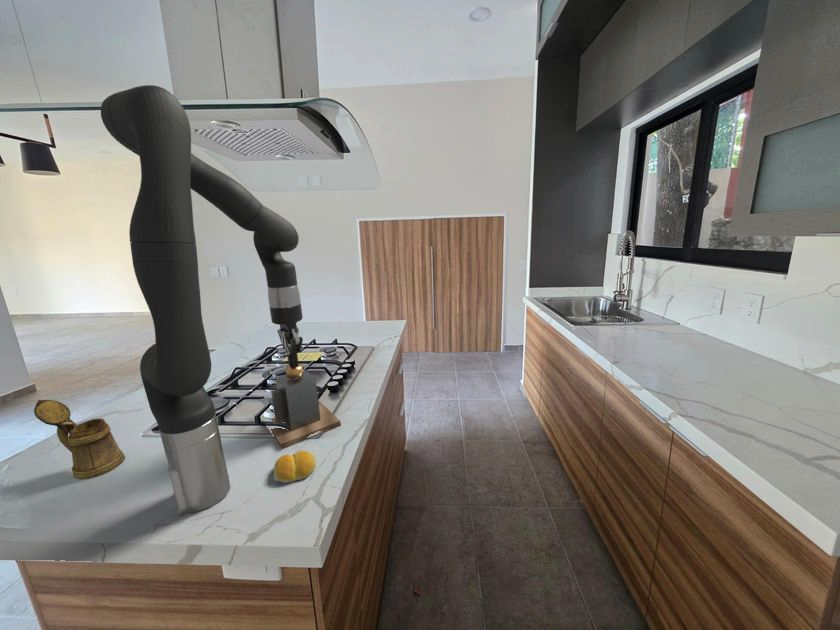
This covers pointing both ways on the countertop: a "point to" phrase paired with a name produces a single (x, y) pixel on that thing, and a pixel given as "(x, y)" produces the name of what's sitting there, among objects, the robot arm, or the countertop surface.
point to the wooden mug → (82, 440)
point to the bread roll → (294, 466)
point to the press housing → (296, 401)
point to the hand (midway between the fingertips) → (293, 366)
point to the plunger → (294, 372)
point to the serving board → (305, 429)
